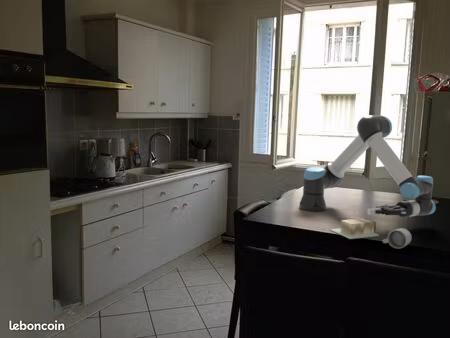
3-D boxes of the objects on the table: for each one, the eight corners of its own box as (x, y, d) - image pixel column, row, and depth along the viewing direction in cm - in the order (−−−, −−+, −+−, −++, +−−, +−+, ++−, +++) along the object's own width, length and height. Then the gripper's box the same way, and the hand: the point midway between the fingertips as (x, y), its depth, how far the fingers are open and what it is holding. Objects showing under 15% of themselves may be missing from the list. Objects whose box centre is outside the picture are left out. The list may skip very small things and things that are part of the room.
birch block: (365, 218, 191) (341, 220, 185) (376, 221, 184) (351, 224, 179) (364, 228, 191) (340, 230, 186) (375, 232, 185) (350, 235, 180)
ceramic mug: (411, 246, 168) (413, 228, 167) (405, 250, 162) (407, 232, 161) (386, 240, 175) (387, 223, 174) (379, 245, 169) (380, 227, 168)
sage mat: (357, 227, 194) (357, 226, 194) (378, 235, 181) (379, 234, 181) (330, 230, 188) (330, 229, 188) (350, 239, 175) (350, 237, 175)
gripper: (417, 219, 190) (378, 223, 181) (396, 213, 202) (358, 216, 193) (418, 204, 189) (379, 207, 180) (397, 198, 201) (359, 200, 192)
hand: (368, 211), depth 186 cm, fingers closed
